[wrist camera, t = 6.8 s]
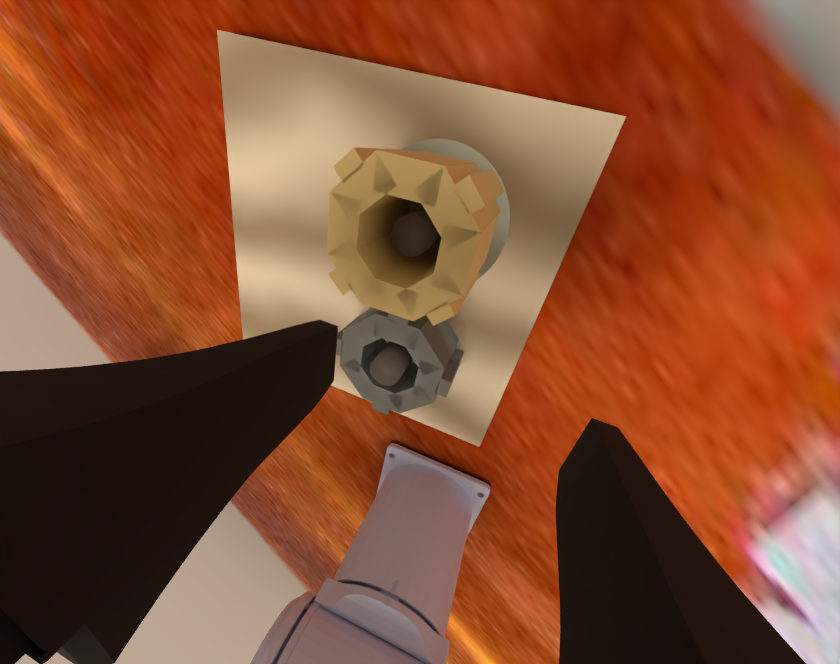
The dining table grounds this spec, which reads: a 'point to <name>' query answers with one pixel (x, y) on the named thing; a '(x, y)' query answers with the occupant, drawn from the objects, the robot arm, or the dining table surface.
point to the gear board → (384, 115)
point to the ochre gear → (389, 199)
